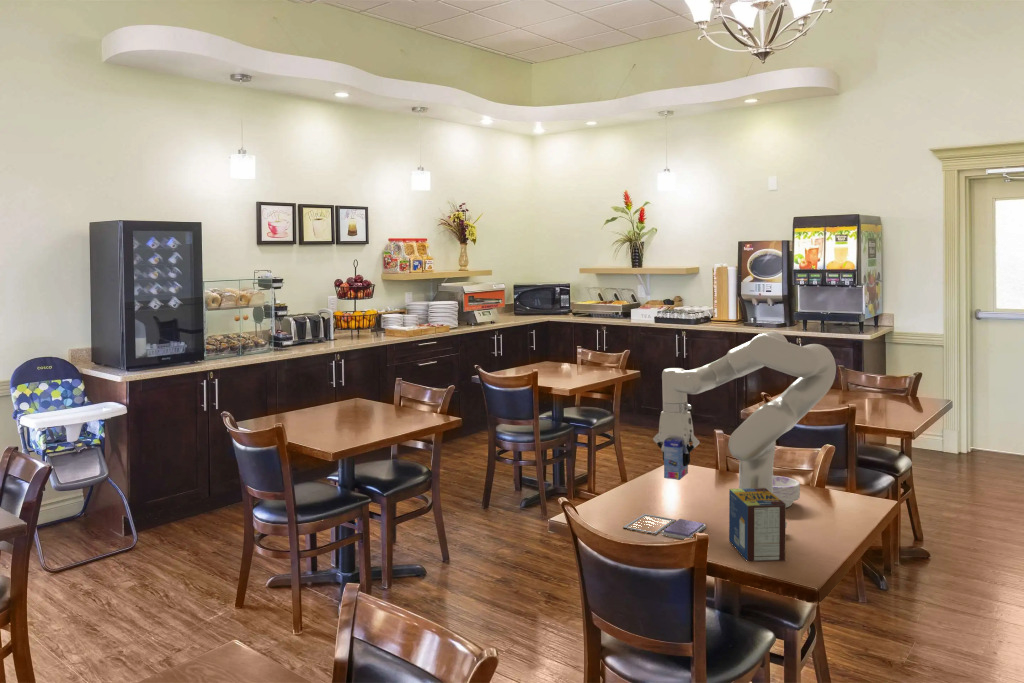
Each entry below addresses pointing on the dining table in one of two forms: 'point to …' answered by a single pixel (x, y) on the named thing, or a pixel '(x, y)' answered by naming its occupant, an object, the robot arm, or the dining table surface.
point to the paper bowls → (786, 489)
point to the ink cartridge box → (674, 459)
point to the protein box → (757, 524)
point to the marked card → (650, 522)
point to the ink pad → (683, 529)
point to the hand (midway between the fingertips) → (676, 463)
